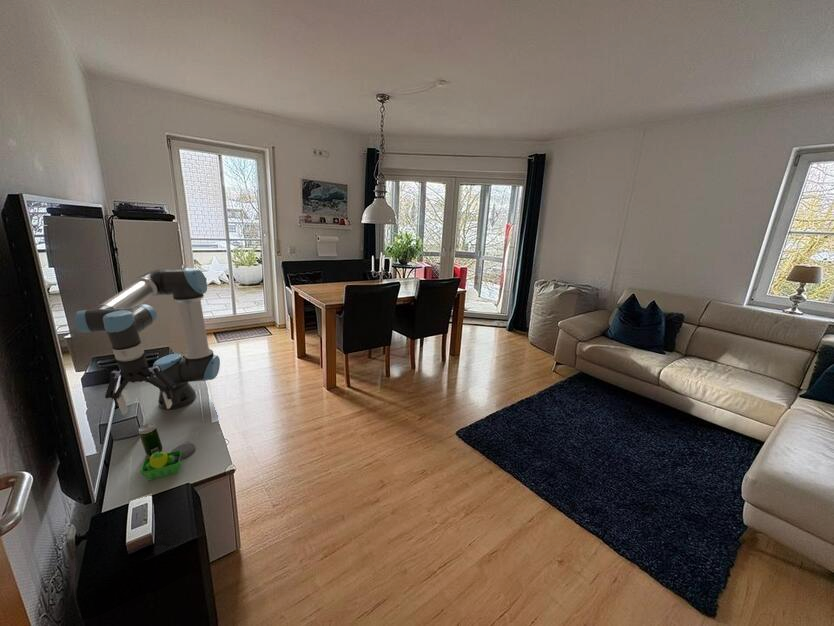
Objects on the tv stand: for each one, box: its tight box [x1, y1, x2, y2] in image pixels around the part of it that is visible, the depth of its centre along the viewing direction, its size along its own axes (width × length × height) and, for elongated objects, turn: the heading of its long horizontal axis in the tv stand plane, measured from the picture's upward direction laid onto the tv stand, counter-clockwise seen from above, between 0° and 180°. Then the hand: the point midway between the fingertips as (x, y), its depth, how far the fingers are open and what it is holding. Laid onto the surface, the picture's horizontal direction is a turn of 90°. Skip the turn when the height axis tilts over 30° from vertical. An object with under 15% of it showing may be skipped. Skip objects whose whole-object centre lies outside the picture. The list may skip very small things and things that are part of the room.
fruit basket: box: [139, 450, 181, 481], centre depth 126 cm, size 11×9×11 cm
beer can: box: [138, 422, 163, 457], centre depth 135 cm, size 5×5×12 cm
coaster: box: [171, 442, 196, 461], centre depth 137 cm, size 8×8×1 cm
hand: (147, 409), depth 123 cm, fingers open, 13 cm apart
